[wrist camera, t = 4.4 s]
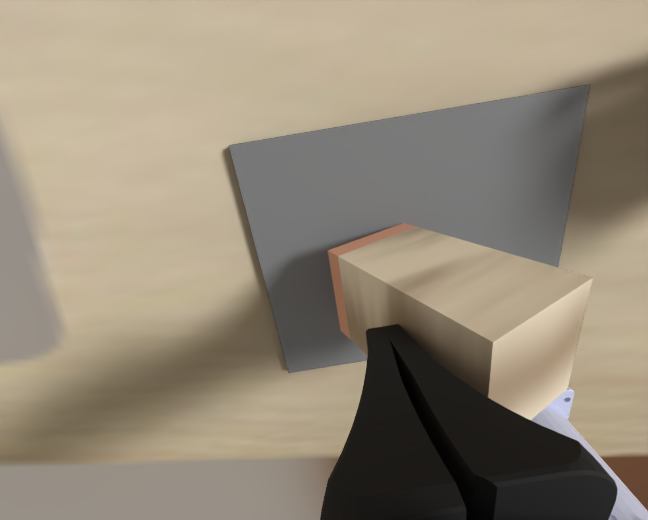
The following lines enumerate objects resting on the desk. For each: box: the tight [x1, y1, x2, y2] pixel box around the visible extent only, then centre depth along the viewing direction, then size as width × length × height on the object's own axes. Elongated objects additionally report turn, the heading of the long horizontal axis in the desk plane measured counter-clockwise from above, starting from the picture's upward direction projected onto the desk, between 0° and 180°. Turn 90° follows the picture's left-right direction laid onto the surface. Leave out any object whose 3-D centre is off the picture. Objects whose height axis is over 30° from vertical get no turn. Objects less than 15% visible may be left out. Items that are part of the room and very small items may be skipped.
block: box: [328, 223, 593, 420], centre depth 14 cm, size 5×5×9 cm
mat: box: [229, 85, 590, 373], centre depth 19 cm, size 15×18×1 cm
